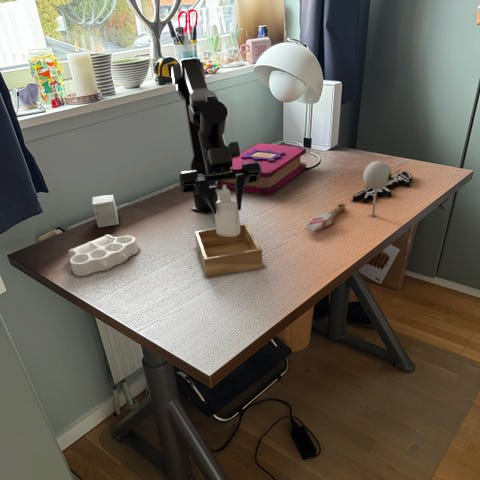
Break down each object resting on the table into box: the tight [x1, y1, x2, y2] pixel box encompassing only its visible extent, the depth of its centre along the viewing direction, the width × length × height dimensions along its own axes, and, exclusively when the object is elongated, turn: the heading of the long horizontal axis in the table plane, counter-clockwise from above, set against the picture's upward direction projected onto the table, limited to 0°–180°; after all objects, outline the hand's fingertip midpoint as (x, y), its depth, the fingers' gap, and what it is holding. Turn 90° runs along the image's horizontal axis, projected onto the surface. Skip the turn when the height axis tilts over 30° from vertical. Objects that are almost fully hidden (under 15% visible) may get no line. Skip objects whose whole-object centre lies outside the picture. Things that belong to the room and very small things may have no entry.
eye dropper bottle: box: [214, 185, 241, 237], centre depth 108 cm, size 4×6×12 cm
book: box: [219, 142, 307, 196], centre depth 160 cm, size 21×28×8 cm
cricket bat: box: [303, 202, 346, 232], centre depth 129 cm, size 4×3×20 cm
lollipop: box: [362, 160, 392, 217], centre depth 126 cm, size 7×7×15 cm
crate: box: [194, 222, 264, 278], centre depth 115 cm, size 16×14×5 cm
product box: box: [91, 194, 119, 229], centre depth 137 cm, size 6×6×7 cm
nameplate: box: [352, 170, 413, 204], centre depth 145 cm, size 28×2×10 cm
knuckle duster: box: [67, 234, 139, 277], centre depth 120 cm, size 3×18×15 cm
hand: (227, 211), depth 107 cm, fingers closed on eye dropper bottle, 5 cm apart
